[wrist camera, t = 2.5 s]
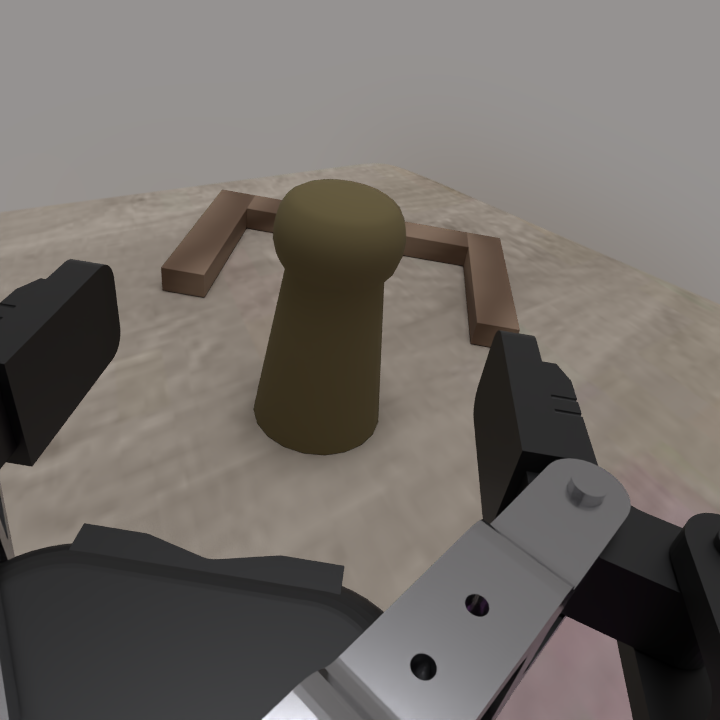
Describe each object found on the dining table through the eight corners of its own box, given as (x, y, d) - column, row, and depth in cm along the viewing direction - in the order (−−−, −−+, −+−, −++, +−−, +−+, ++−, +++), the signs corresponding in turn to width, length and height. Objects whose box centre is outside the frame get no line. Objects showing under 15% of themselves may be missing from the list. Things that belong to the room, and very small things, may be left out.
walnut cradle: (162, 290, 35) (161, 267, 34) (222, 208, 45) (222, 189, 44) (512, 350, 35) (519, 330, 35) (494, 256, 45) (499, 238, 45)
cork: (236, 383, 30) (241, 164, 23) (344, 361, 32) (376, 159, 26) (282, 469, 26) (303, 234, 19) (401, 436, 28) (456, 220, 22)
